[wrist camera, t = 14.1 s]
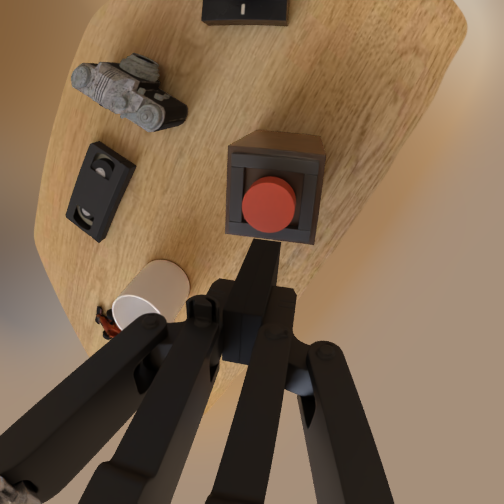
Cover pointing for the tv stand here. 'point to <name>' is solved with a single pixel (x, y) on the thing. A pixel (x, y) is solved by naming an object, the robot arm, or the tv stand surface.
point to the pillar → (284, 167)
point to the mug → (152, 293)
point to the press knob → (269, 204)
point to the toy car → (107, 324)
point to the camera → (131, 91)
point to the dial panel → (245, 12)
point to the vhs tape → (99, 190)
